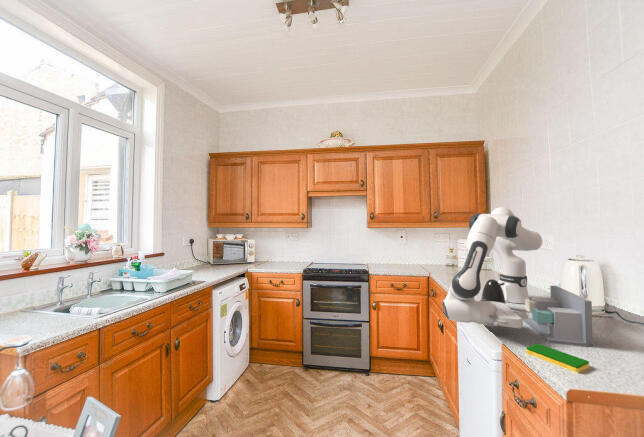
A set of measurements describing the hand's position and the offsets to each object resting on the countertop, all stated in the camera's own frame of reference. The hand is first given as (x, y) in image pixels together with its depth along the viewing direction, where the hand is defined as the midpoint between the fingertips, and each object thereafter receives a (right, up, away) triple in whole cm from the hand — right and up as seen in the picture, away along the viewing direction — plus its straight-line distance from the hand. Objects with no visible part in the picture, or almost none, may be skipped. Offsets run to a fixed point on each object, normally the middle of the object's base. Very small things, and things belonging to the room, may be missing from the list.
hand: (526, 315), depth 106 cm
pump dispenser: (+7, -8, +31) cm, 33 cm away
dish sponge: (-5, -8, -19) cm, 21 cm away
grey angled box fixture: (+13, -8, +3) cm, 16 cm away
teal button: (+6, -2, -2) cm, 7 cm away
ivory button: (+13, -2, +11) cm, 17 cm away
